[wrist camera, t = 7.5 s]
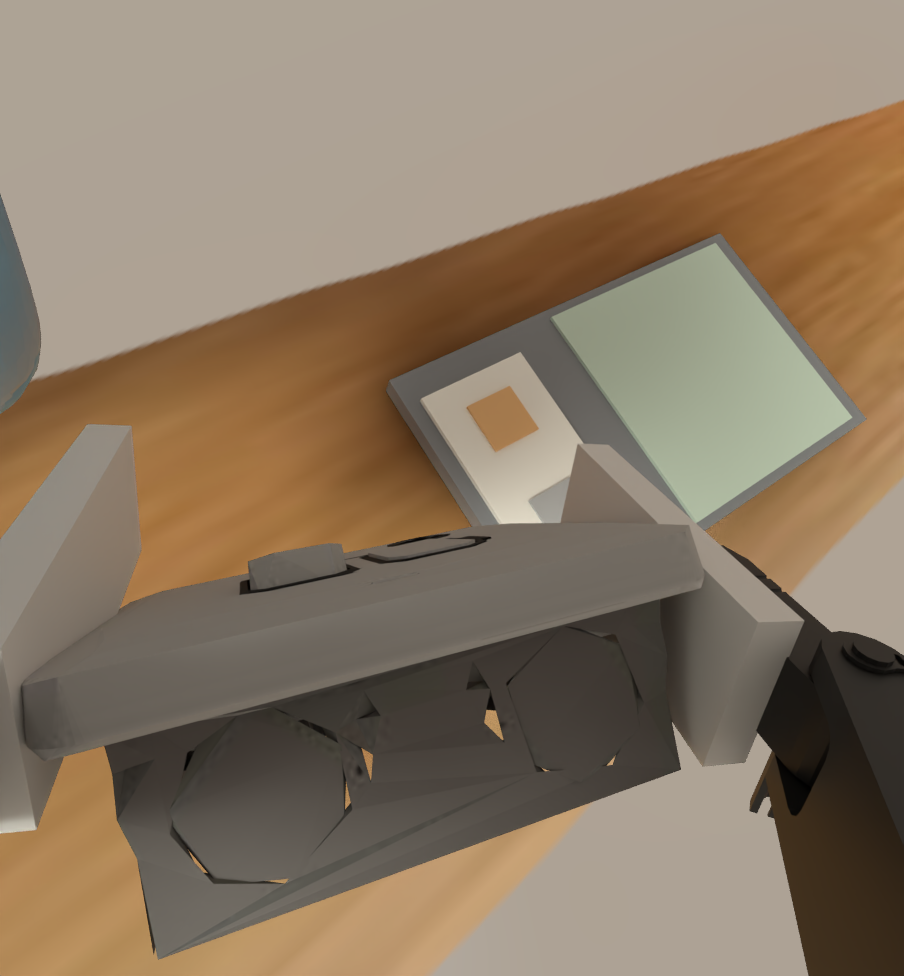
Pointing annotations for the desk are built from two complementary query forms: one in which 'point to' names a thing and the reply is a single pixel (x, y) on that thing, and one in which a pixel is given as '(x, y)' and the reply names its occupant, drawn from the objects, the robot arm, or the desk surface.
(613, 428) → the switch plate
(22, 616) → the robot arm
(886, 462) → the desk surface
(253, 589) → the electrical switch
